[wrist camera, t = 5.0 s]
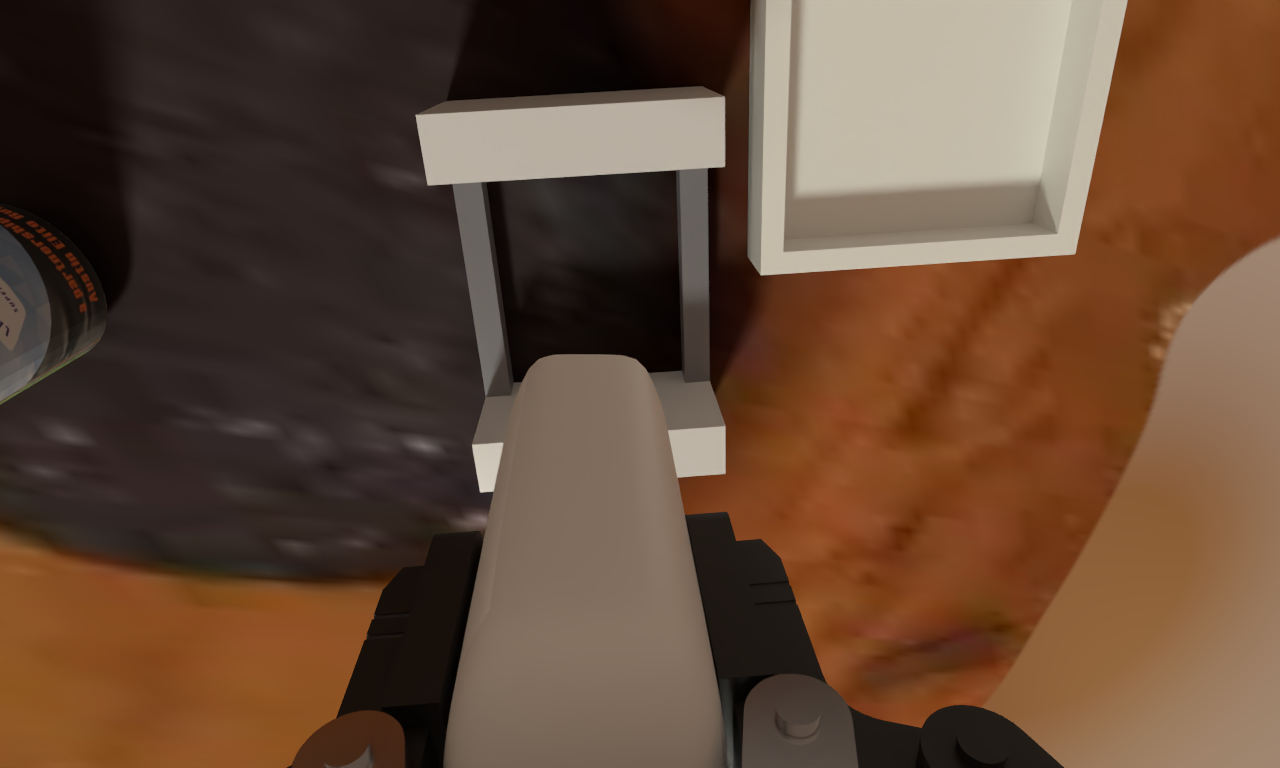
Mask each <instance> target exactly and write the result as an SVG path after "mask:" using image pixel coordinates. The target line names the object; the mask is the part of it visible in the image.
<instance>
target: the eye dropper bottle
mask: <svg viewBox="0 0 1280 768" xmlns="http://www.w3.org/2000/svg"><path fill="white" fill-rule="evenodd" d="M443 768H727V748H726V737H725V727H724V720H723V713H722V707H721V700H720V695H719V690H718V684H717V679H716V674H715V668H714V663H713V658H712V652H711V647H710V642H709V637H708V631H707V626H706V621H705V615H704V610H703V605H702V600H701V595H700V590H699V585H698V580H697V575H696V570H695V565H694V560H693V554H692V549H691V544H690V539H689V534H688V529H687V524H686V519H685V514H684V509H683V504H682V499H681V494H680V489H679V484H678V479H677V474H676V469H675V464H674V459H673V454H672V449H671V444H670V439H669V434H668V429H667V424H666V420H665V416H664V412H663V409H662V406H661V403H660V400H659V397H658V394H657V392H656V389H655V386H654V384H653V382H652V380H651V378H650V376H649V374H648V372H647V370H646V369H645V368H644V367H643V366H642V365H641V364H640V363H639V362H638V361H637V360H636V359H633V358H630V357H626V356H623V355H601V354H562V355H551V356H547V357H543V358H540V359H538V360H537V361H536V362H535V363H534V364H533V365H532V366H531V367H530V368H529V370H528V372H527V373H526V375H525V377H524V379H523V381H522V383H521V385H520V388H519V390H518V393H517V395H516V398H515V401H514V404H513V407H512V410H511V413H510V417H509V421H508V424H507V429H506V433H505V438H504V443H503V448H502V453H501V458H500V463H499V468H498V473H497V477H496V482H495V487H494V492H493V497H492V502H491V507H490V512H489V517H488V522H487V527H486V531H485V536H484V541H483V546H482V551H481V556H480V561H479V566H478V571H477V576H476V581H475V586H474V591H473V596H472V601H471V606H470V611H469V616H468V621H467V626H466V631H465V636H464V641H463V646H462V651H461V656H460V661H459V666H458V672H457V677H456V682H455V687H454V692H453V697H452V702H451V707H450V714H449V720H448V726H447V733H446V741H445V749H444V761H443Z"/></svg>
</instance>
